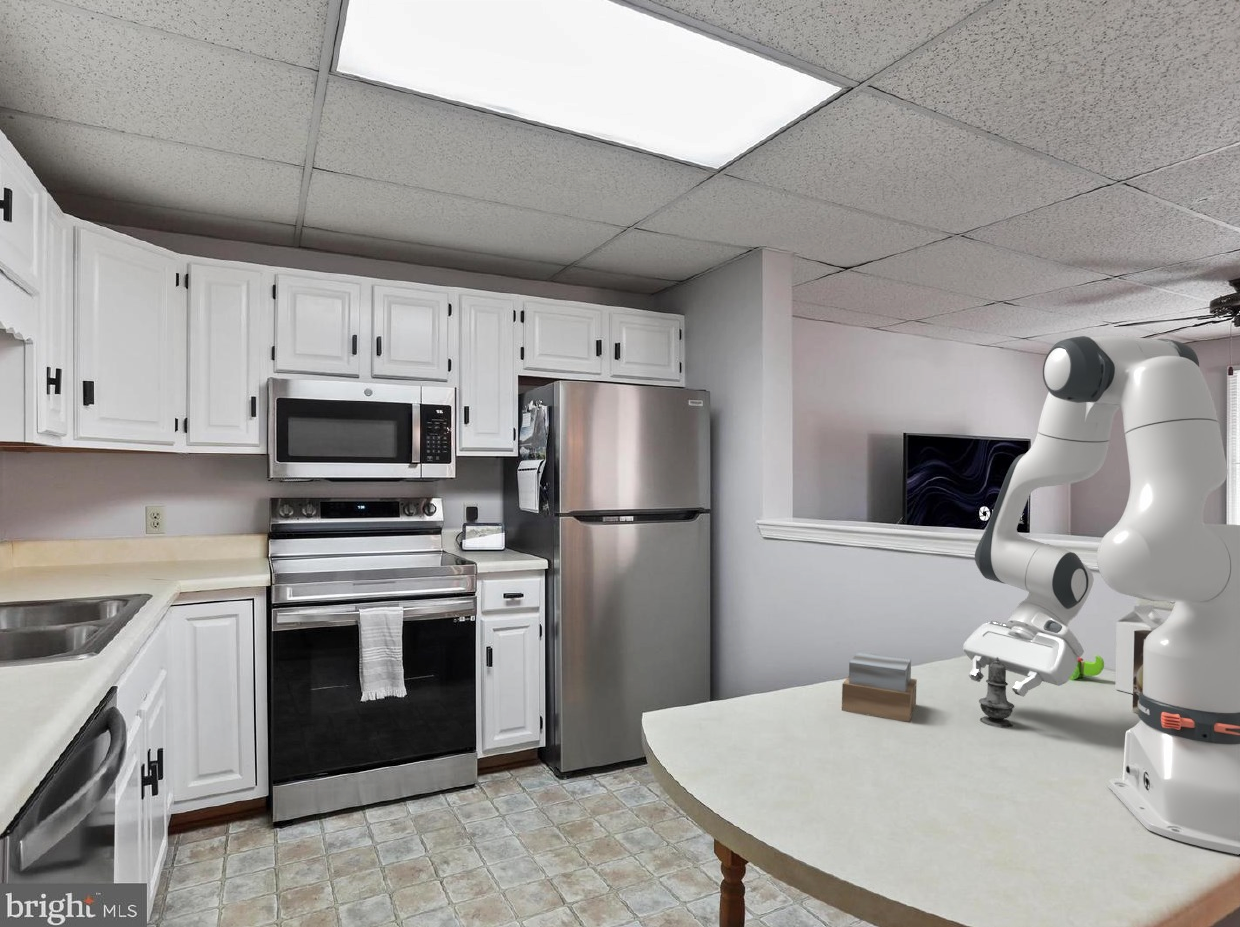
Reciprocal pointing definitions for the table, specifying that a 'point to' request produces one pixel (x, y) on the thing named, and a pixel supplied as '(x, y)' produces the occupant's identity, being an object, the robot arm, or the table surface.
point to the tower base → (879, 701)
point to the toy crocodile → (1088, 668)
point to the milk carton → (1132, 642)
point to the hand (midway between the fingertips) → (994, 685)
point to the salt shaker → (996, 697)
